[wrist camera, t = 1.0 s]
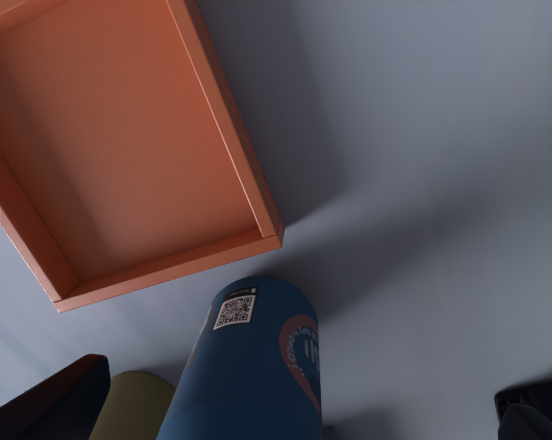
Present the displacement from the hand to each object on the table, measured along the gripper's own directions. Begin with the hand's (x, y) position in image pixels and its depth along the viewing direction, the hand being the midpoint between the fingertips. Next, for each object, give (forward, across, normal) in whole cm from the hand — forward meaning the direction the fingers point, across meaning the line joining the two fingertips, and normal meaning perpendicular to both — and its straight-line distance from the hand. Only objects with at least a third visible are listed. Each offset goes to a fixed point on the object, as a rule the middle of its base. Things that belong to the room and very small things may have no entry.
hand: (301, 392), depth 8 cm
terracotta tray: (+14, +11, -2) cm, 18 cm away
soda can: (+14, +2, +8) cm, 16 cm away
